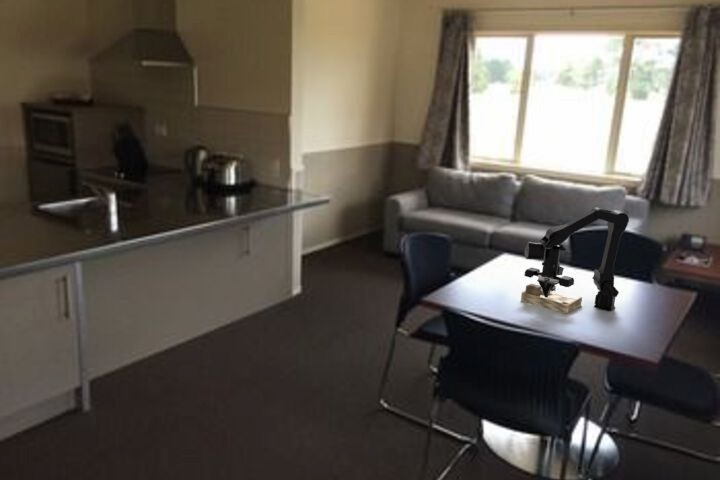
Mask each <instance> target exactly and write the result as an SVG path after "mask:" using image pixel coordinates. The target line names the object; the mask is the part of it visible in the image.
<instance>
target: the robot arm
mask: <svg viewBox="0 0 720 480" xmlns="http://www.w3.org/2000/svg"><path fill="white" fill-rule="evenodd" d="M598 220H602V221H605V222H607V223H606V224H607V229H608V230H607V231H608V232H607V233H608V234H607V239H606V243H605V246H604V251H603V255H602V260H601V265H600V267H599V268H598V269H594V271H593V276H592V277H591V279H593V284H594V285H595V286H596V288H597V294H596V295H595V299H594V306H593V308H597V309H599V310H604V311H607V312H611V311H613V310H614V309H616V306H615V302H616V298H617V297H618V295H619V292H620V291H618V289H617V288H616V287H615V274H614V268H615V262H616V258H617V254H618V250H619V245H620V242H621V237H622V235H623V233H624V232H625V231H626V229H627V227H628V225H629V222H630V218H629V216H628V214H626V213H625V212H623V211H622V210H618V209H614V210H610V209H604V208H600V207H593V208H592V209H590V210H589V211H587V212H584V213H583V214H582V215H579V216H578V217H576V218H574V219H571V220H570V221H569V222H567V223H565V224H561V225H560V224H559V225H555V226H554V227H550V228H548V229H547V230H546V232H545V234H544V236H543V237H541V239H540V240H539V241H538V242H533V241H527V244H526V246H525V248H524V258H525V260H541V259H543V261H542V262H541V265H542V269H541V270H540V268H535V267H529V268H527V269H526V270H525V271H524V275H523V276H524V277H527V278H530V279H531V278H533V277H534V276H535V277H538V278H537V280H536V282H538V284H539V283H540V284H539V286H540V285H541V287H542V288H541V290H543V293H544V296H545V297H546V298H547V297H548V296H549V294H550V292H551V293H552V288H553V287H554V286H557V285H559V286H561V287H565V288H570V287H571V286H573V285H574V286H575V279H574V277H572V276H567V275H564V276H563V273H564V269H565V268H564V267H563V266H561V263H560V256H561V255H560V254H561V251H563V252H564V251H566V250H567V249H566V248H565V246H564V245H563V243H564V242H565V241H567V240H568V238H569V237H570V236H571V235H572V234H574V233H575V232H578V231H580V230H582V229H583V228H585V227H587V226H589V225H591V224H592V223H595V222H596V221H598ZM560 276H561V277H560ZM549 281H550V282H549Z"/></svg>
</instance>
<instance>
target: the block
mask: <svg viewBox="0 0 720 480" xmlns="http://www.w3.org/2000/svg"><path fill="white" fill-rule="evenodd" d="M541 290H542V288H541V286H540V284H539V285H538V284H536V283H529V284H527V285H525V291H526V292H525V293H528V294H531V295H535V296H538V297H540V294H541Z"/></svg>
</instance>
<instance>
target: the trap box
mask: <svg viewBox="0 0 720 480" xmlns="http://www.w3.org/2000/svg"><path fill="white" fill-rule="evenodd" d="M525 292H526V290H524V291H522V292H521V297H520V301H522V302H525V303H528V304H533V305H535V306H539V307H543V308H545V309H549V310H553V311H556V312H559V313H563V314H569V313H571V312H572V311H574V310H576V309H577V308H579V307H581V306H582V301H583V297H581V296H580V297H578V298H576V299H575V298H573V297H568V296H566V295H565V296H564V295H561V294H557V293H553V292H552V291H551V292H550V294H549V296H548V297H547V298H546V297H545V296H544V293H543V290H542V289H541V294H540V297H538V296H535V295H531V294H528V293H525Z"/></svg>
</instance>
